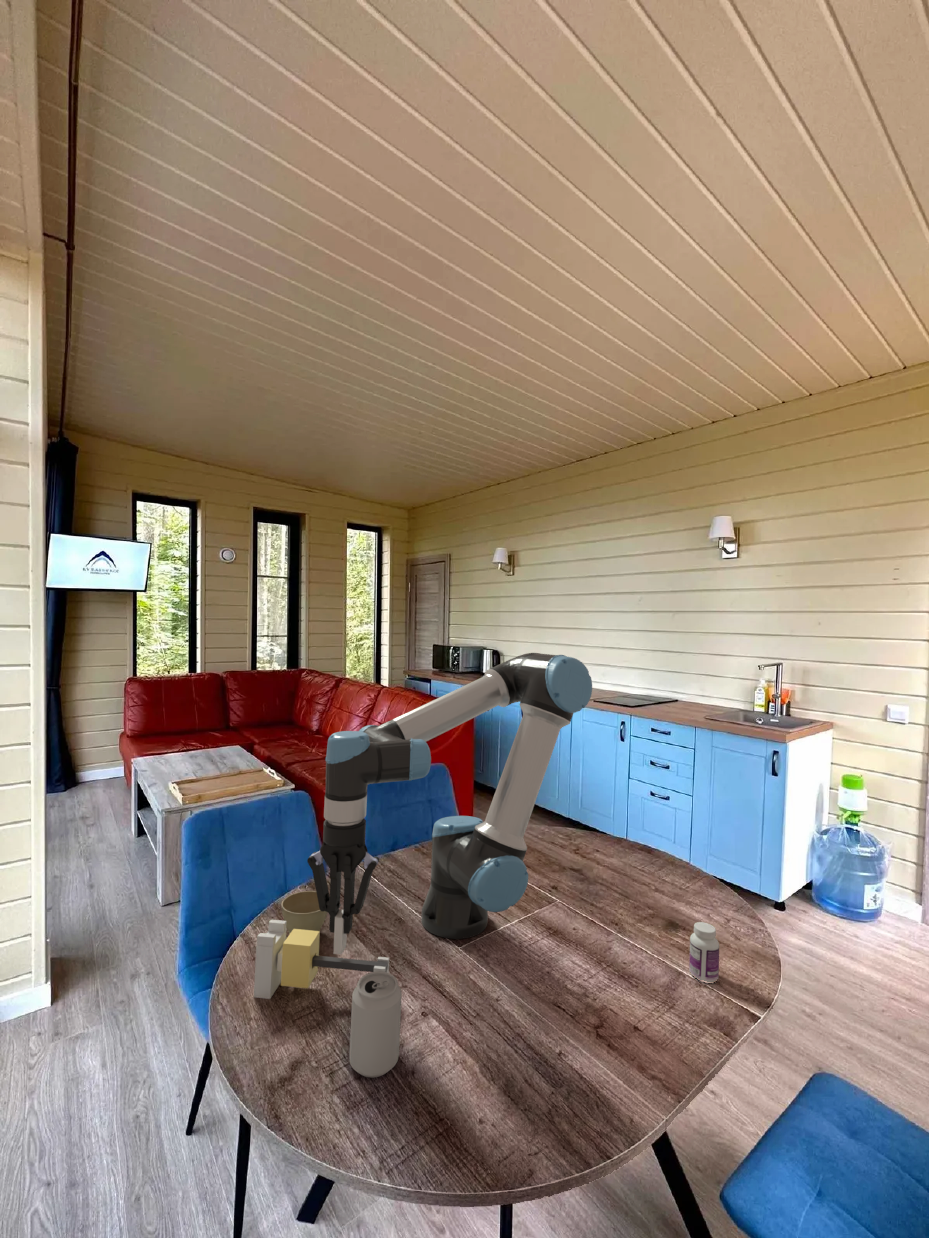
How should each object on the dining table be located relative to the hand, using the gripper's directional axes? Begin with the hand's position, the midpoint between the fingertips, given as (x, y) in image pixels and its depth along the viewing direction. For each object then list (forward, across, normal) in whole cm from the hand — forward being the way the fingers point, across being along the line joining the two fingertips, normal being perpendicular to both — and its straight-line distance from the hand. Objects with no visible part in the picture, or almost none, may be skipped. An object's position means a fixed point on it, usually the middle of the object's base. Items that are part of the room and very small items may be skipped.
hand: (339, 949), depth 98 cm
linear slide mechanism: (+8, +3, 0) cm, 8 cm away
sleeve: (+6, +7, 0) cm, 9 cm away
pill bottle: (+9, -69, -16) cm, 72 cm away
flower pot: (+8, +13, -17) cm, 23 cm away
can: (+8, -10, +14) cm, 19 cm away
